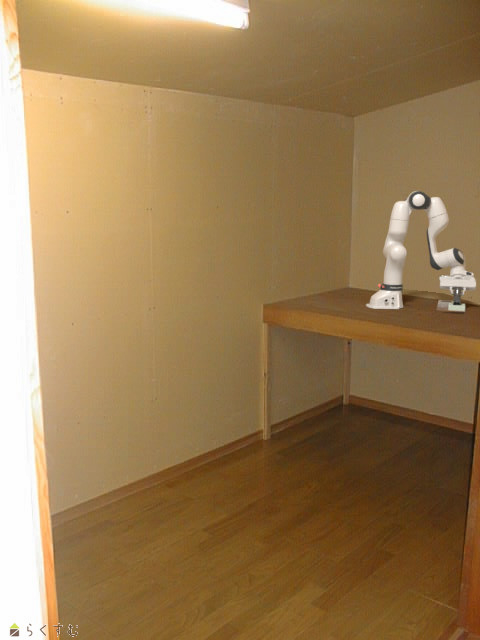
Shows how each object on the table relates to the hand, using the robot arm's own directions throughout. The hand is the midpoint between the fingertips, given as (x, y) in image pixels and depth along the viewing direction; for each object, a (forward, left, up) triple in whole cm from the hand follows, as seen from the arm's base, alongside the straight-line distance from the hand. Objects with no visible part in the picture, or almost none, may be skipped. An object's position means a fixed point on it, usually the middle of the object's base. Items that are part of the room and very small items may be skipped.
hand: (457, 294), depth 345 cm
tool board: (0, +6, -10) cm, 12 cm away
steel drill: (0, +1, -7) cm, 7 cm away
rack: (0, +1, -9) cm, 9 cm away
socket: (0, +12, -9) cm, 15 cm away
